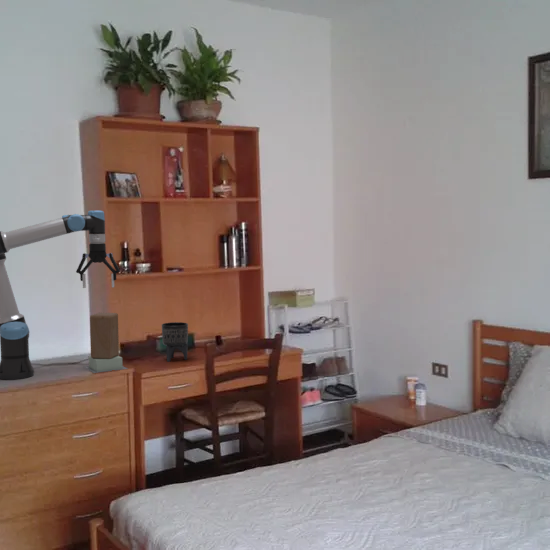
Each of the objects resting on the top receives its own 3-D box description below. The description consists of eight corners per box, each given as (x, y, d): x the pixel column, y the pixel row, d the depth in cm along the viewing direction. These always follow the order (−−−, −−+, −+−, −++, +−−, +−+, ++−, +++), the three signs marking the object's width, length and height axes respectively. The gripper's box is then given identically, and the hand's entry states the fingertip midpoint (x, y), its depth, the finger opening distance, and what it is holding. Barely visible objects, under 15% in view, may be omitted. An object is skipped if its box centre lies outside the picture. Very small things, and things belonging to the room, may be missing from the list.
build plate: (93, 375, 300) (93, 372, 299) (83, 368, 313) (83, 366, 313) (128, 370, 308) (128, 368, 308) (116, 364, 322) (116, 362, 321)
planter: (177, 363, 324) (176, 326, 323) (156, 360, 331) (156, 324, 330) (193, 358, 335) (193, 323, 334) (173, 356, 342) (173, 321, 341)
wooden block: (110, 359, 304) (109, 315, 303) (90, 358, 306) (88, 315, 305) (119, 355, 314) (118, 312, 313) (99, 354, 316) (98, 312, 314)
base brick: (96, 371, 302) (96, 360, 302) (88, 367, 312) (88, 356, 312) (122, 368, 309) (122, 357, 308) (113, 363, 319) (113, 353, 318)
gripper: (68, 243, 315) (70, 288, 317) (122, 242, 316) (123, 287, 318) (72, 243, 323) (74, 287, 324) (125, 242, 324) (126, 286, 326)
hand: (98, 287), depth 321 cm, fingers open, 13 cm apart
